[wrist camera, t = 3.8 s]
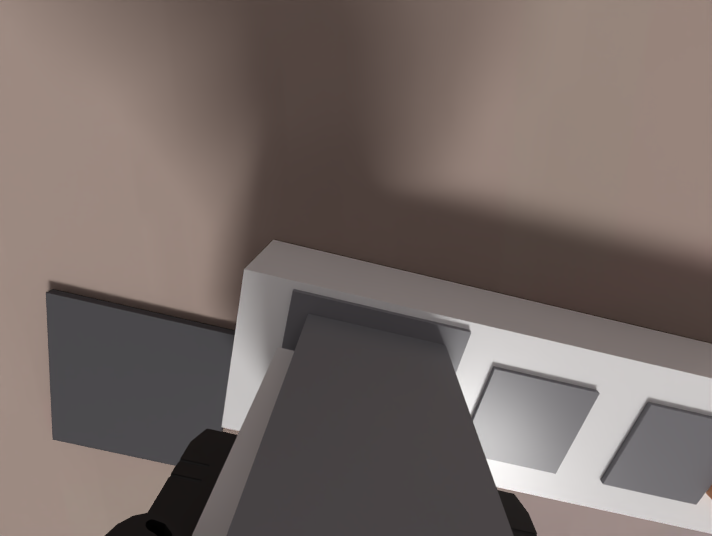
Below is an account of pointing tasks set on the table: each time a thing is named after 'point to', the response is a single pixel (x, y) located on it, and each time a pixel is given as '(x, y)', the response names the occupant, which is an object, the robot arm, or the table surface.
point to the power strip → (513, 379)
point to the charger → (369, 444)
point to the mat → (133, 377)
